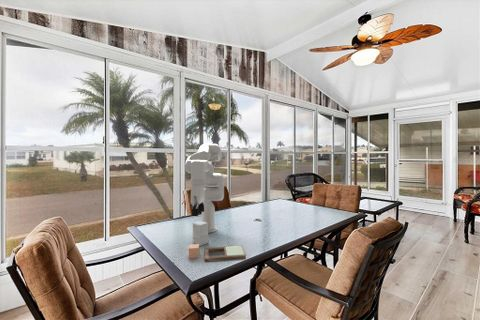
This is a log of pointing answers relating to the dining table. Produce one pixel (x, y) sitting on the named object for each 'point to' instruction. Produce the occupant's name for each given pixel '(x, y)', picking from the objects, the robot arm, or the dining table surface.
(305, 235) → the dining table surface
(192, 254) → the terracotta cube
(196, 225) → the small box
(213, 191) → the robot arm
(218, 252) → the hole board
